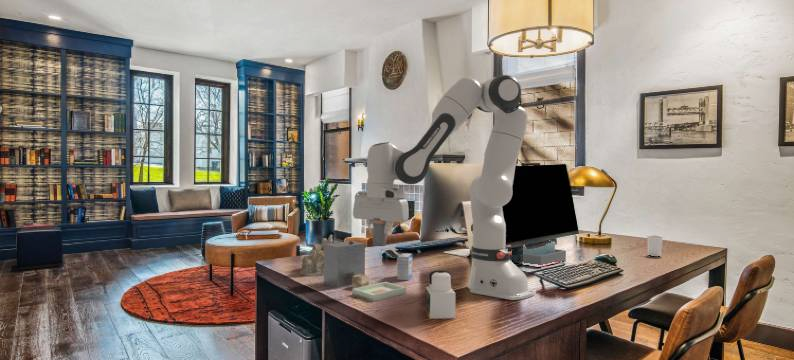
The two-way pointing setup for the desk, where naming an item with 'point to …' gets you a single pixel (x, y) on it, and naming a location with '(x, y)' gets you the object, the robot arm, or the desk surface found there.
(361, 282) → the maple block
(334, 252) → the console
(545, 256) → the organizer bin
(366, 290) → the tray
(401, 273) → the medicine box
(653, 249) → the drinking glass
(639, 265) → the desk surface
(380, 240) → the cartridge
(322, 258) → the ceramic cottage
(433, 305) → the medicine bottle
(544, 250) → the squiggly pen holder
